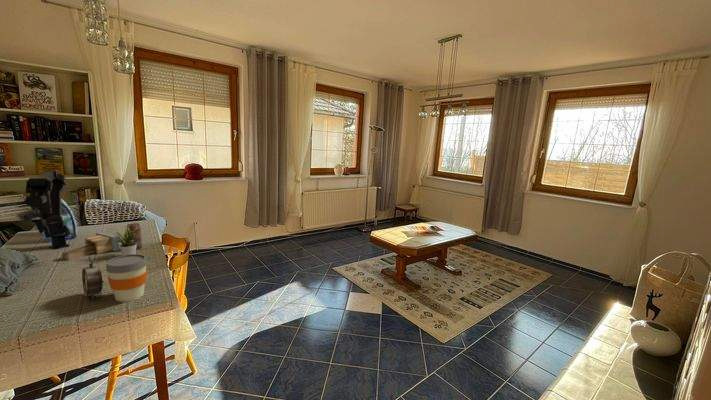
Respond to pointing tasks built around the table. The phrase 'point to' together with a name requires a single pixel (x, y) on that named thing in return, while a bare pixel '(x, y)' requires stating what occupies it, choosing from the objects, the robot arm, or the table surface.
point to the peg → (79, 252)
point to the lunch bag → (67, 221)
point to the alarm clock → (92, 280)
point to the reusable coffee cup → (127, 276)
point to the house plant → (128, 241)
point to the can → (138, 241)
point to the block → (99, 243)
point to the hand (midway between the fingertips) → (46, 234)
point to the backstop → (113, 238)
